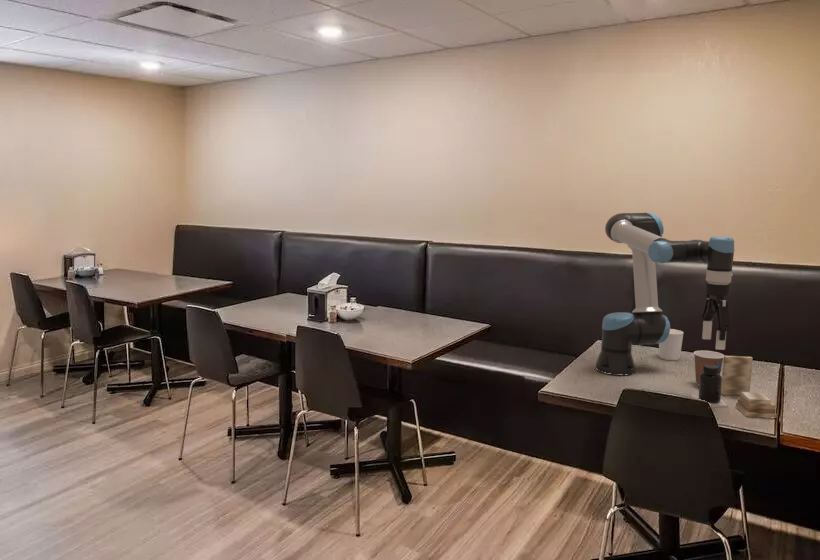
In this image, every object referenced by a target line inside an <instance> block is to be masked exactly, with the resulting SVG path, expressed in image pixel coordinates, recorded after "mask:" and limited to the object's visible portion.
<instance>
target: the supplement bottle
mask: <svg viewBox="0 0 820 560" xmlns="http://www.w3.org/2000/svg"><path fill="white" fill-rule="evenodd" d="M703 371H704V372H703V373H701V374H700V380H699V385H698V395H699V399H701V400H705V401H707V402H709V403H718V402H720V400H721V399H722V394H721V385H722V375H721V374H720V375H719V374H718V373H719V367H718V366H715V365H704V367H703Z"/></svg>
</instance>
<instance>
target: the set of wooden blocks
mask: <svg viewBox="0 0 820 560" xmlns="http://www.w3.org/2000/svg"><path fill="white" fill-rule="evenodd" d="M752 369H753V357H752V356H741V355H740V356H739V355H724V358H723V362H722V372H721V377H722V385H721V395H727V396H728V395H729V396H740V399H737V402H735V408H736V407H737V408H738V409H739V410H740V411H739V410H738V409H737V408H736V409H737V410H738V411H739V412H740V413H741V414H743V415H744V416H745V417H746V416H749V417H748V418H758V417H765V418H764V419H772V418H771V417H774V418H776V419H777V416H778V414H777V413H776V404H775V403H773V402H772V400H771V399H770V398H769V397H767V396H766V395H765V394H763V392H751V391H750V390H751V380H752V371H753V370H752ZM774 418H773V419H774Z"/></svg>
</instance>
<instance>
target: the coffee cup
mask: <svg viewBox="0 0 820 560" xmlns="http://www.w3.org/2000/svg"><path fill="white" fill-rule="evenodd" d="M693 354H694V369H695V371H694V372H695V383H696V385H698V386H699V380H700V374H701V373H703V372H704V371H703V367H704V365H715V366H718V367H719V373H718V374H719V375H720V376H721V373H722V372H721V371H722V368H723V361H724V356H725V354H723V353H721V352H717V351H712V350H695V351H693Z"/></svg>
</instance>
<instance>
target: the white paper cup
mask: <svg viewBox="0 0 820 560" xmlns="http://www.w3.org/2000/svg"><path fill="white" fill-rule="evenodd" d="M683 338H684V331H682V330H679V329H674V328H670V332H669V335H668V337H667V339H666V340H665V341H664V342H662V343H658V357H659V358H660V359H662V360H666V361H678V360H680V359H681V352H682V345H683Z"/></svg>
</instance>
